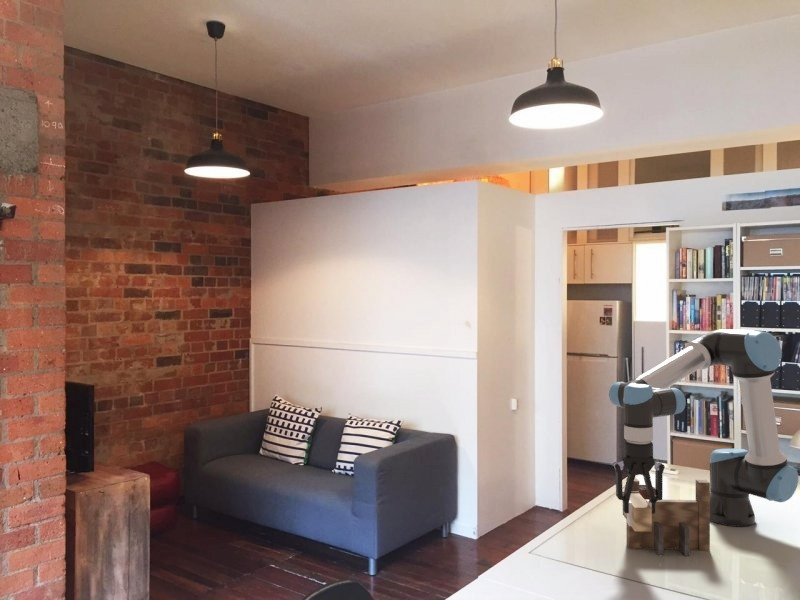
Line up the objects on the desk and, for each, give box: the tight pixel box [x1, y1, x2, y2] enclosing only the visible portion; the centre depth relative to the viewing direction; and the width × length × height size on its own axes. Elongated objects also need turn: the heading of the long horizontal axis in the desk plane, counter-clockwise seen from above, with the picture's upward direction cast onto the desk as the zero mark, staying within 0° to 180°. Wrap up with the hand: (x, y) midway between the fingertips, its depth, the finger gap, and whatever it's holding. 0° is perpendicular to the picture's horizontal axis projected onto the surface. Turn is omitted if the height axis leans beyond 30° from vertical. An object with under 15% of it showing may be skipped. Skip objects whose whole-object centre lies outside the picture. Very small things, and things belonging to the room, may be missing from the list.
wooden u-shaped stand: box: [625, 477, 711, 557], centre depth 195 cm, size 23×8×20 cm, turn 85°
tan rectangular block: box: [622, 490, 652, 532], centre depth 187 cm, size 5×13×7 cm, turn 175°
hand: (639, 524), depth 184 cm, fingers closed on tan rectangular block, 4 cm apart
